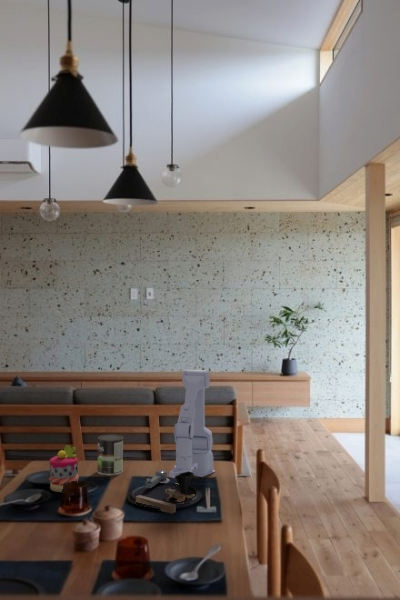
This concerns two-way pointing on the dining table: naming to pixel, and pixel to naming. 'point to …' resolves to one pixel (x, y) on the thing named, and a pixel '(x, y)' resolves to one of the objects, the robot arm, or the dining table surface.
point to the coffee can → (110, 454)
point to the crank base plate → (164, 481)
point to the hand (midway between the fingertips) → (183, 492)
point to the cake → (63, 468)
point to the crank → (155, 478)
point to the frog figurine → (177, 495)
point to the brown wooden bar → (157, 504)
